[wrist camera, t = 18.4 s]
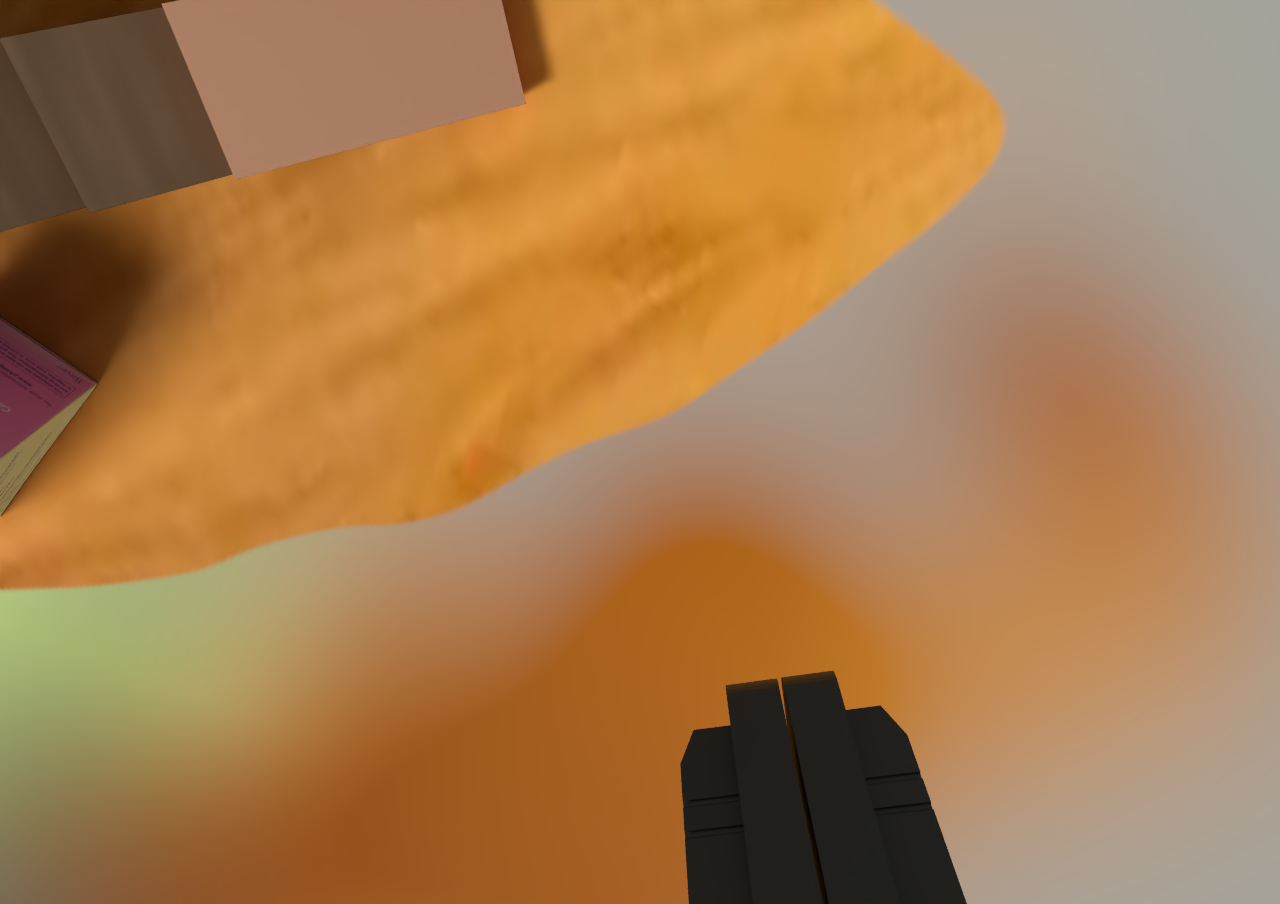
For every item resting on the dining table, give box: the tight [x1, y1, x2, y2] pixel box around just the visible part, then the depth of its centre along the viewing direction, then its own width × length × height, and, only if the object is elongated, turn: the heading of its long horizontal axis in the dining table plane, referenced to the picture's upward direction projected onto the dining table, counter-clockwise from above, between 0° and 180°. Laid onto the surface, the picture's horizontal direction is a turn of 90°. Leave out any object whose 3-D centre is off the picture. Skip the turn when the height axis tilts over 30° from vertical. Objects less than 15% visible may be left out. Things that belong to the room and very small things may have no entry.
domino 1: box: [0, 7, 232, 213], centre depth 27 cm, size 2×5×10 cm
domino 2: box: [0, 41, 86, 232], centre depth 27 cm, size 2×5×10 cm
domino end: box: [162, 0, 526, 179], centre depth 27 cm, size 2×5×10 cm
